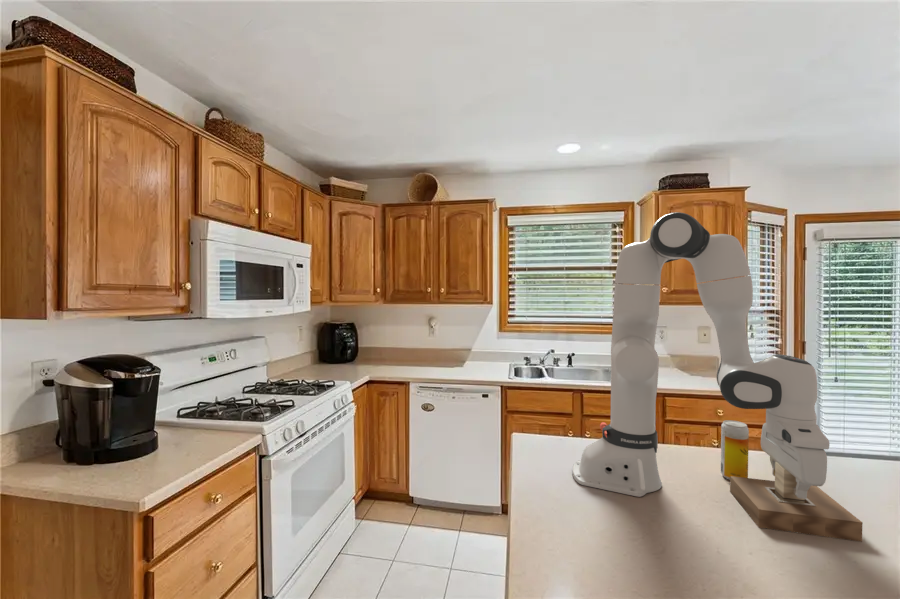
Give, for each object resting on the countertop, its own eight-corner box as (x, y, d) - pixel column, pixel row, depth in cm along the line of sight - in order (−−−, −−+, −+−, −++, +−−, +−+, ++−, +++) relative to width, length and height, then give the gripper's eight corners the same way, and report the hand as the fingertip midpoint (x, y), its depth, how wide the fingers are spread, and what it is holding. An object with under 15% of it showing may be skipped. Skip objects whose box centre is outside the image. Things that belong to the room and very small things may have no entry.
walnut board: (758, 527, 87) (759, 508, 87) (729, 491, 103) (730, 475, 103) (862, 541, 82) (862, 521, 82) (815, 501, 98) (815, 484, 98)
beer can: (752, 484, 107) (753, 427, 106) (726, 481, 108) (727, 426, 107) (740, 473, 113) (741, 420, 112) (716, 471, 114) (717, 419, 113)
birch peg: (782, 517, 91) (783, 469, 91) (774, 508, 95) (775, 462, 95) (804, 520, 90) (805, 471, 90) (794, 510, 94) (795, 464, 94)
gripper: (753, 412, 103) (752, 465, 103) (797, 441, 83) (795, 507, 84) (783, 414, 101) (781, 468, 102) (835, 444, 81) (833, 512, 82)
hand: (788, 486), depth 92 cm, fingers open, 8 cm apart
